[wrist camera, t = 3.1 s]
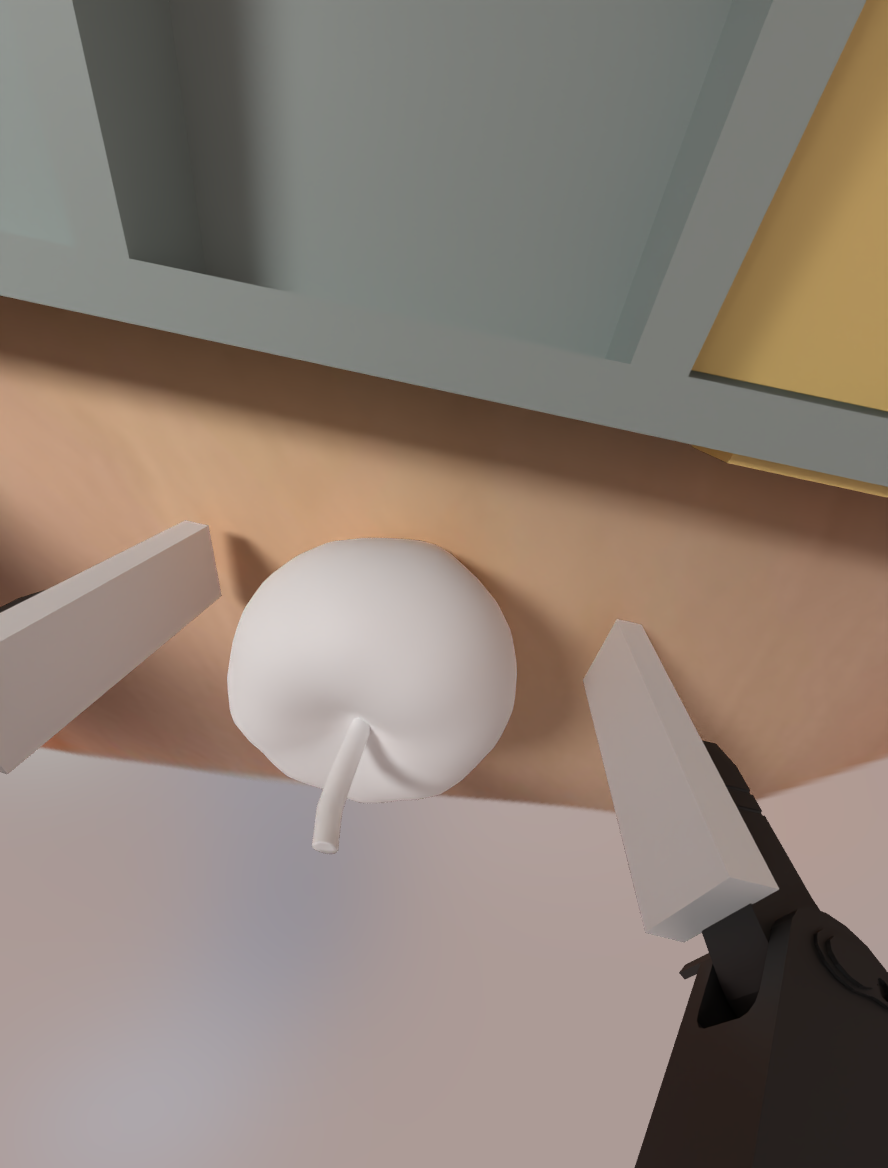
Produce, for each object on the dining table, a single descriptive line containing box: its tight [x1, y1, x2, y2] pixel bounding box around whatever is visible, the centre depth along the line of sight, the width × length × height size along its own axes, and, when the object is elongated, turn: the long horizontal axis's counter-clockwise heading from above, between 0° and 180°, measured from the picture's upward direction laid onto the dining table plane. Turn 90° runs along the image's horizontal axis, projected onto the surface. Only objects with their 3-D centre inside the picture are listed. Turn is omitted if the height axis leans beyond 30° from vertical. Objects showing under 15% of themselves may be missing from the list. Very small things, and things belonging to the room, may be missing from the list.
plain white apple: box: [227, 538, 517, 854], centre depth 9 cm, size 7×7×8 cm
